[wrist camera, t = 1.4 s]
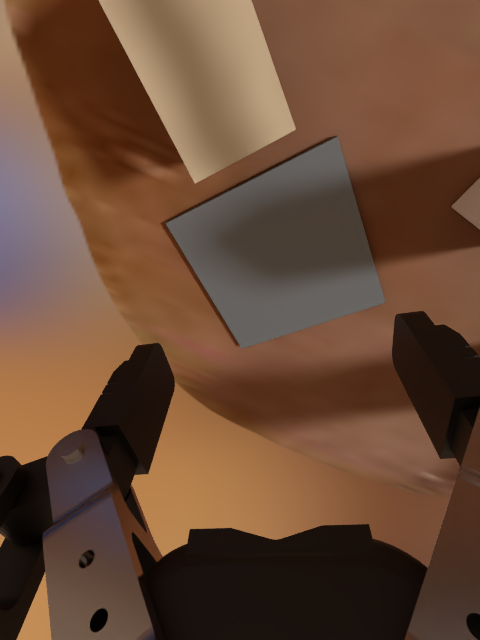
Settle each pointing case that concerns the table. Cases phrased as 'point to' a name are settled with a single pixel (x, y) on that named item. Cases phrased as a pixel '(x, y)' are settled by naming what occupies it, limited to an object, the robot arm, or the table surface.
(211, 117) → the tan legged block
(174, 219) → the mat
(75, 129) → the table surface
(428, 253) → the table surface
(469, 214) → the milk
